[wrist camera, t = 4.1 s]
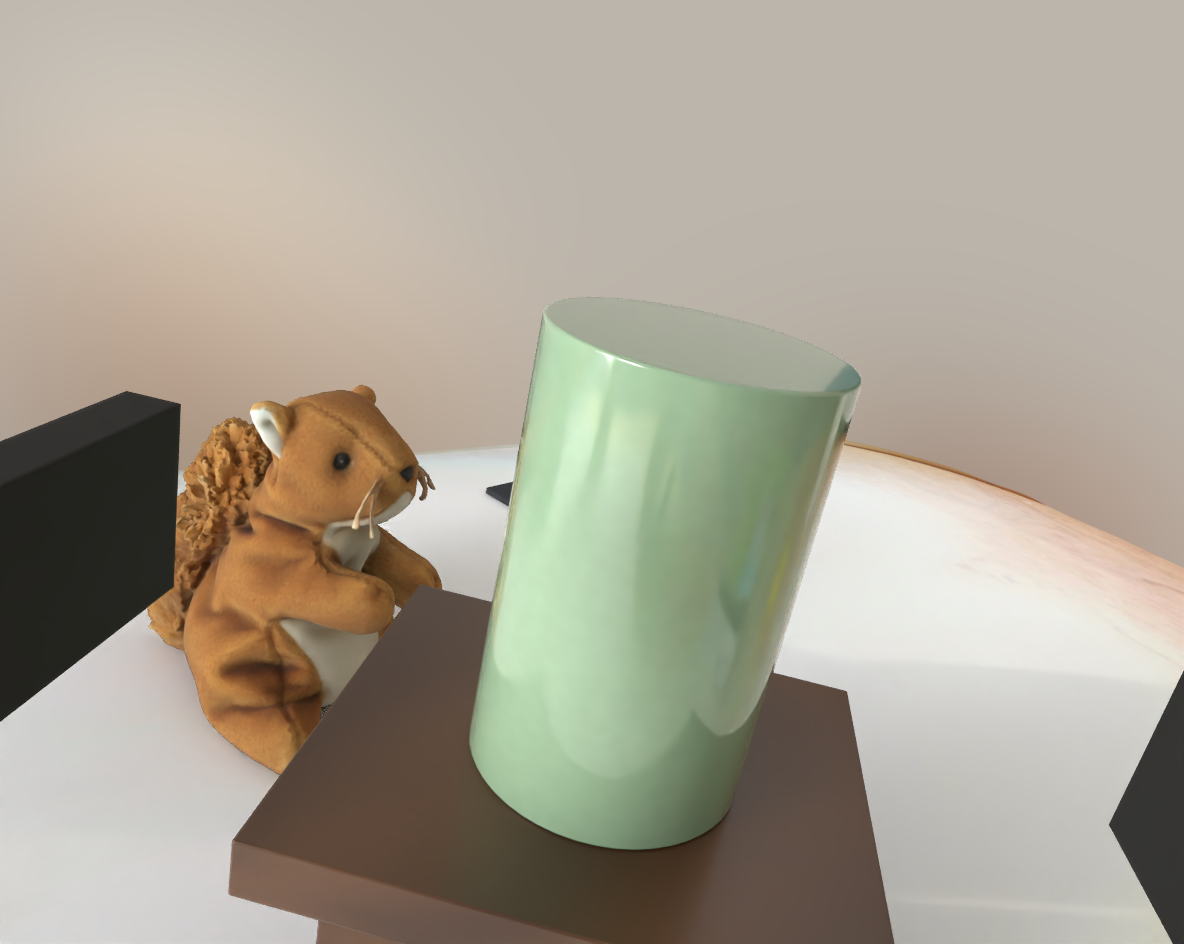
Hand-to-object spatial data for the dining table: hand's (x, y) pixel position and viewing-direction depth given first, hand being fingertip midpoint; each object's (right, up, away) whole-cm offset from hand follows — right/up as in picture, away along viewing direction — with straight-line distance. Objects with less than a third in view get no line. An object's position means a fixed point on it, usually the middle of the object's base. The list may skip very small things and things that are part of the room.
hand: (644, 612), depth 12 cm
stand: (-2, -15, +16) cm, 21 cm away
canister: (0, -5, +12) cm, 13 cm away
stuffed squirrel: (-15, -7, +29) cm, 34 cm away
